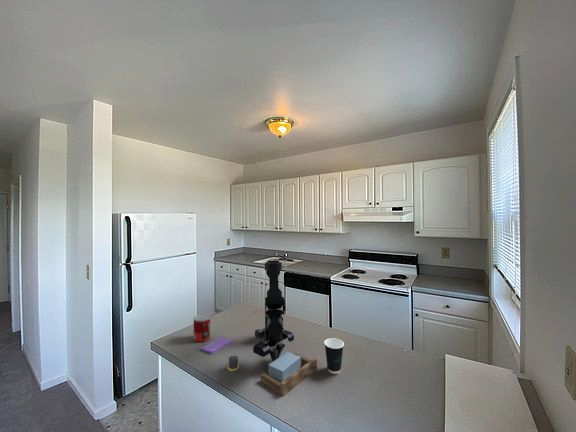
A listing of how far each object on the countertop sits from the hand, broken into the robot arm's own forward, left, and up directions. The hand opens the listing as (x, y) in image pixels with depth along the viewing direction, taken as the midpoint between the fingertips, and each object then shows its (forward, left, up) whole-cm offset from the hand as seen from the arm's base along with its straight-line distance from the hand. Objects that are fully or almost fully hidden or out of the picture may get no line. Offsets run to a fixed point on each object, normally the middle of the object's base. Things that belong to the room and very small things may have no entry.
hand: (274, 363), depth 104 cm
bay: (0, +8, -2) cm, 8 cm away
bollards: (0, -12, -2) cm, 13 cm away
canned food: (+7, -44, -2) cm, 45 cm away
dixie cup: (-14, +20, -2) cm, 24 cm away
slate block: (-1, +5, -2) cm, 5 cm away
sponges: (+6, -33, -2) cm, 33 cm away
